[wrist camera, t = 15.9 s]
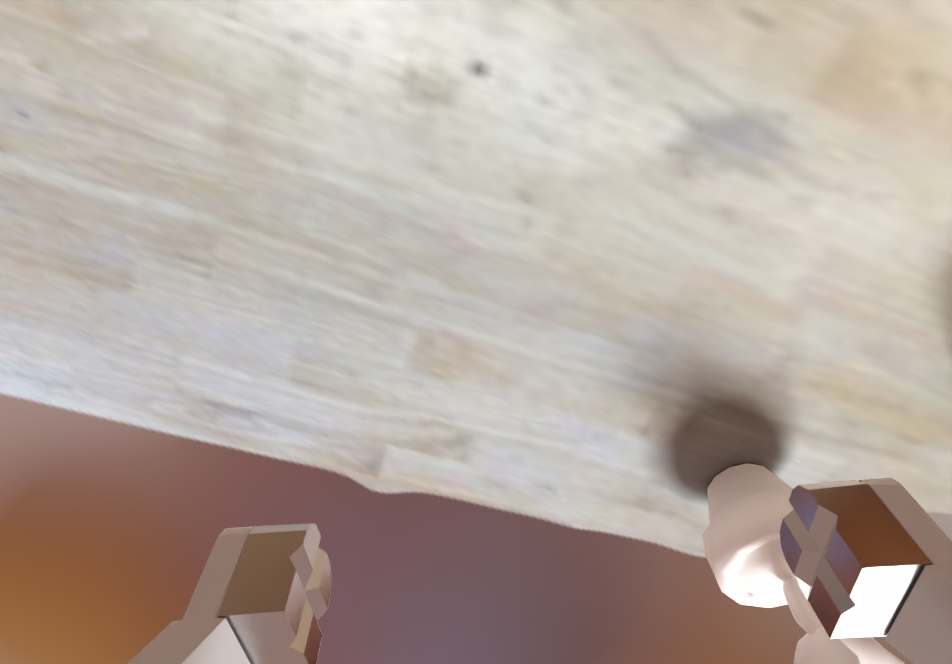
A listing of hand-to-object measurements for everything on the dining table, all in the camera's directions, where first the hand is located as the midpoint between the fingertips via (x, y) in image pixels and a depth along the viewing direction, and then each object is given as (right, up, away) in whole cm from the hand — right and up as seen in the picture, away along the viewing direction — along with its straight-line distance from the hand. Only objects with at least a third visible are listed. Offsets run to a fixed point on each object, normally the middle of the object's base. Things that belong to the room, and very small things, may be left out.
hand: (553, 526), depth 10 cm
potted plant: (+26, -12, +48) cm, 56 cm away
